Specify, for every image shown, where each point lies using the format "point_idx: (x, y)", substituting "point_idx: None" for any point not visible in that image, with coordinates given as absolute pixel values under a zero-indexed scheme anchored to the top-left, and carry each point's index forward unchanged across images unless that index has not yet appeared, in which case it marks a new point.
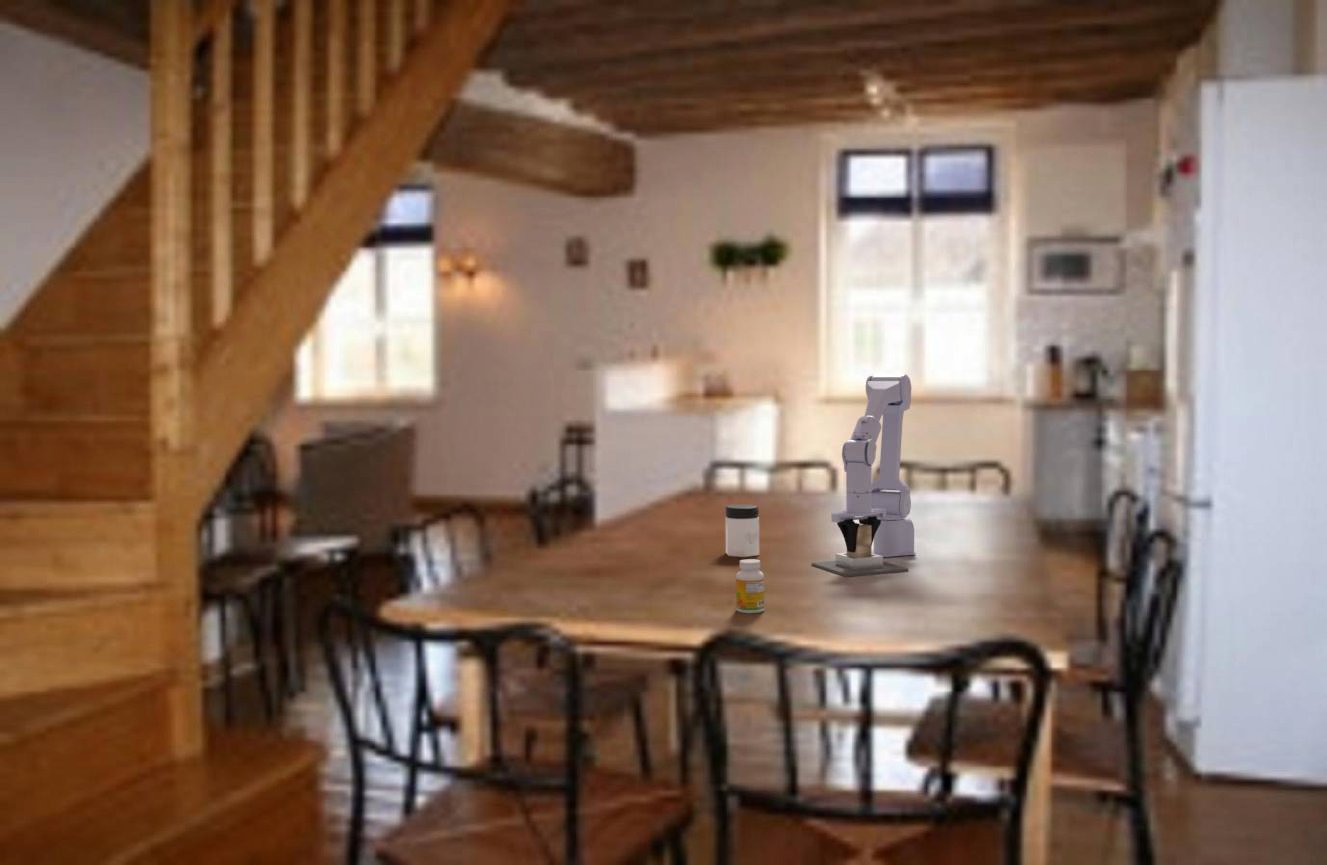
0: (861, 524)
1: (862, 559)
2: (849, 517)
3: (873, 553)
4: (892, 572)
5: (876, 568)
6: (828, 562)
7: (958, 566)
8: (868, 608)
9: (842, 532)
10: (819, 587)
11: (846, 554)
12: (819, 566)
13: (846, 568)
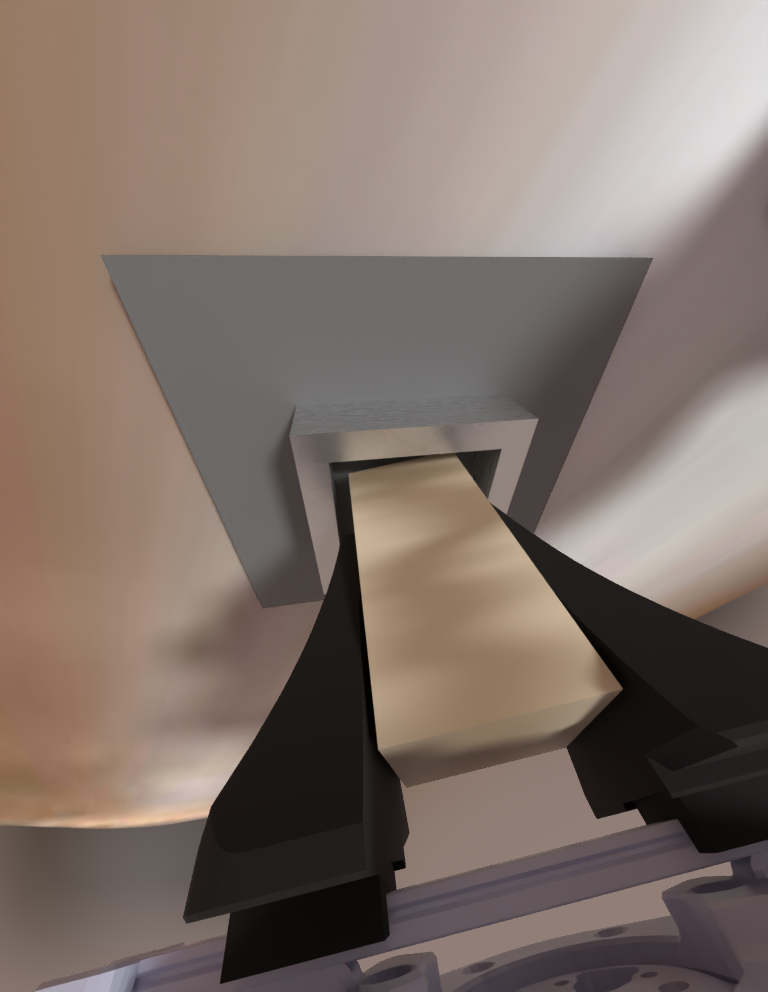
0: (558, 724)
1: None
2: (356, 979)
3: (507, 508)
4: None
5: None
6: (265, 317)
7: (686, 540)
8: (218, 760)
9: (296, 678)
10: (132, 681)
11: (367, 455)
12: (171, 399)
13: (306, 526)
